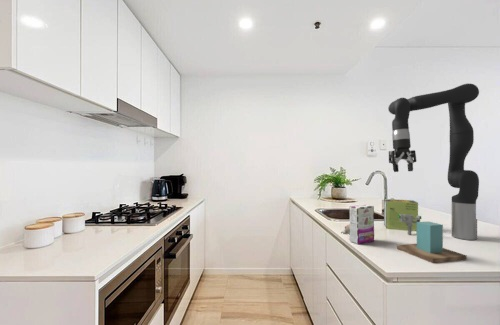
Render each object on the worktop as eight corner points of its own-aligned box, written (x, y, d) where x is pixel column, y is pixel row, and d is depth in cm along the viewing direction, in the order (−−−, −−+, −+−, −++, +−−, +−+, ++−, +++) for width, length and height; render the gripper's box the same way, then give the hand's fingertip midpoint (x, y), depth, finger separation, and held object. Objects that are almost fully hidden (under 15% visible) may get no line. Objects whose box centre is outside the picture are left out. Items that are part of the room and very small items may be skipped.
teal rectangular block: (428, 247, 104) (428, 221, 105) (442, 252, 99) (442, 224, 99) (416, 248, 103) (416, 222, 103) (430, 253, 97) (430, 225, 97)
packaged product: (361, 228, 124) (340, 224, 130) (361, 237, 124) (340, 234, 130) (370, 221, 138) (351, 219, 144) (370, 230, 138) (351, 227, 144)
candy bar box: (365, 238, 121) (365, 204, 121) (374, 241, 117) (374, 205, 117) (348, 241, 116) (348, 205, 116) (357, 244, 112) (358, 207, 112)
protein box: (418, 231, 135) (418, 202, 136) (386, 228, 141) (386, 200, 141) (413, 227, 145) (413, 200, 145) (383, 224, 151) (383, 198, 151)
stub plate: (427, 246, 110) (427, 235, 110) (466, 259, 95) (466, 247, 95) (397, 248, 107) (397, 238, 107) (432, 263, 91) (432, 250, 91)
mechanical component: (422, 236, 126) (422, 216, 126) (399, 234, 128) (399, 215, 129) (419, 234, 129) (419, 214, 129) (397, 233, 131) (397, 214, 131)
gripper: (395, 138, 120) (397, 172, 120) (419, 137, 124) (421, 170, 123) (383, 140, 128) (385, 172, 127) (406, 140, 131) (408, 171, 130)
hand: (403, 171), depth 125 cm, fingers open, 8 cm apart
